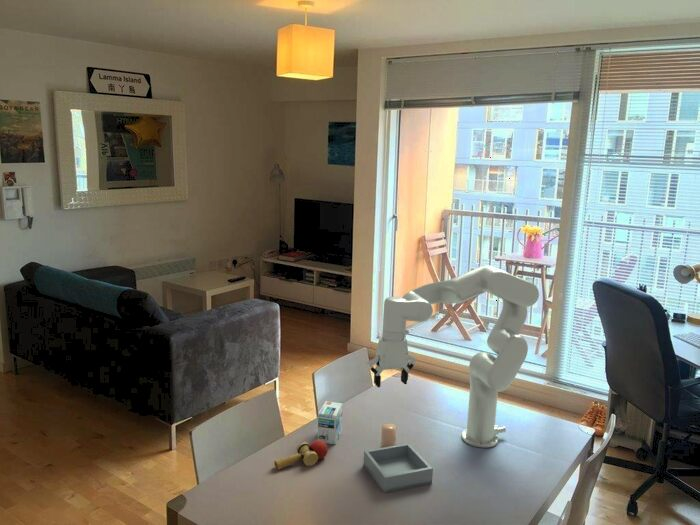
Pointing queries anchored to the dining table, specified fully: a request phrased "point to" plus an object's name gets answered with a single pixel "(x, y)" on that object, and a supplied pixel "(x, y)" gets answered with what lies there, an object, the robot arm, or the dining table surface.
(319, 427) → the light bulb box
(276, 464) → the kendama
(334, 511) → the dining table surface
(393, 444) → the beige rounded capsule
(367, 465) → the bin
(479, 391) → the robot arm
